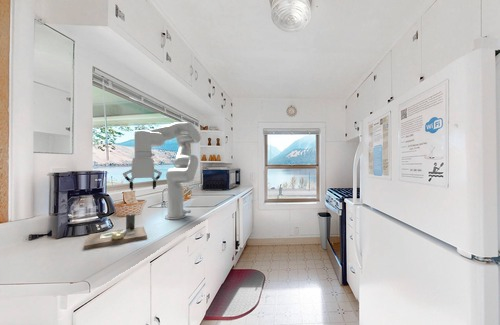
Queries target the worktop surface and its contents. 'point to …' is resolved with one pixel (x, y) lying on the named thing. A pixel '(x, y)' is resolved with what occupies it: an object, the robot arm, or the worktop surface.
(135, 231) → the board
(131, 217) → the tuner lever
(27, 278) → the worktop surface
